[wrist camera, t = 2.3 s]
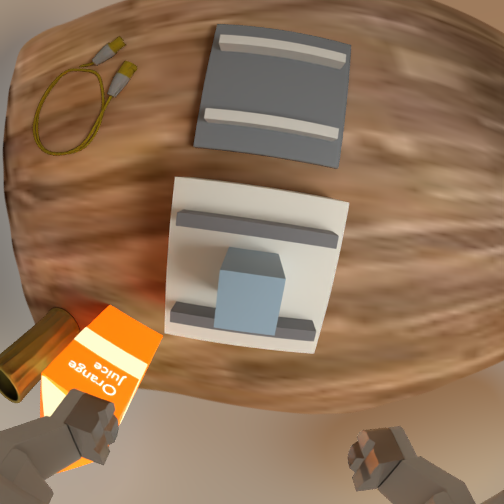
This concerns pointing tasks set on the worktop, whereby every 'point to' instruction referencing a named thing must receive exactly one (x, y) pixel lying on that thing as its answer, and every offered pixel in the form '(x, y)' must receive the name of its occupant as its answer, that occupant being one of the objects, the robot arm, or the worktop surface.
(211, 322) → the block
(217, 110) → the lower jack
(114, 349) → the orange juice
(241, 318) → the plug
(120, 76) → the coiled cable
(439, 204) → the worktop surface
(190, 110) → the worktop surface
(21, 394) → the vase
